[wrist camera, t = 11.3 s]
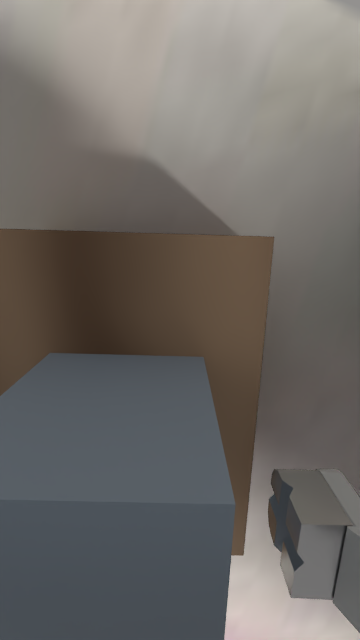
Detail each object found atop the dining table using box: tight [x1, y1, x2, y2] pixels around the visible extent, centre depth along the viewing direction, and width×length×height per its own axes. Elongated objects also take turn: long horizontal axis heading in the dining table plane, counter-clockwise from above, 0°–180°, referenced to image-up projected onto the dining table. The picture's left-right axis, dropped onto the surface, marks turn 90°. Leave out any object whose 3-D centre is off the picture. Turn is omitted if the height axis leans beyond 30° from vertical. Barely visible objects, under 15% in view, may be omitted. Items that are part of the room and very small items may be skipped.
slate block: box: [0, 353, 236, 640], centre depth 8 cm, size 5×5×6 cm
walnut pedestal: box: [0, 229, 274, 555], centre depth 13 cm, size 9×12×5 cm
